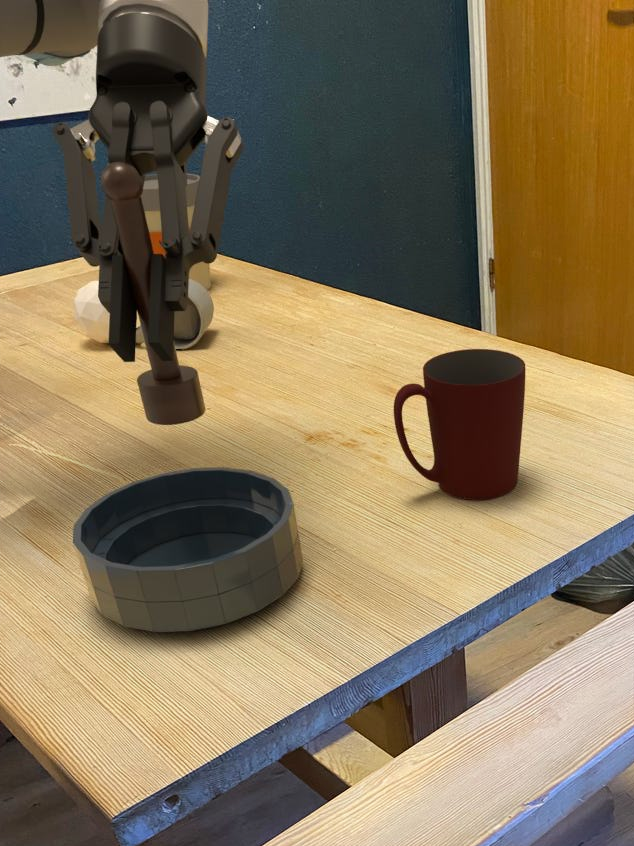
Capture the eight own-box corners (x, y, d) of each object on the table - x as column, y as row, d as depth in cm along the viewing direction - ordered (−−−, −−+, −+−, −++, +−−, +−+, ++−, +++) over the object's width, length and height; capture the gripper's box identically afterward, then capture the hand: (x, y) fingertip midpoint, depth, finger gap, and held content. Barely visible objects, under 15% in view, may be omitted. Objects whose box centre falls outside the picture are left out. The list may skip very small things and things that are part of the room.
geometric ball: (134, 361, 124) (124, 320, 116) (72, 348, 123) (58, 306, 115) (149, 317, 127) (140, 274, 119) (88, 304, 126) (75, 260, 118)
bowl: (49, 621, 70) (24, 553, 67) (169, 520, 83) (153, 458, 79) (239, 656, 66) (223, 585, 63) (336, 544, 79) (327, 479, 75)
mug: (421, 521, 81) (412, 400, 75) (385, 481, 88) (373, 366, 81) (542, 490, 85) (544, 373, 79) (498, 454, 92) (496, 342, 85)
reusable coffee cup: (228, 275, 148) (209, 171, 139) (215, 298, 138) (194, 187, 129) (148, 279, 148) (124, 174, 139) (129, 302, 138) (102, 191, 129)
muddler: (134, 422, 70) (67, 167, 60) (167, 400, 73) (108, 155, 63) (186, 427, 69) (126, 168, 59) (216, 405, 72) (165, 156, 62)
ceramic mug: (221, 328, 126) (209, 269, 122) (209, 348, 120) (196, 287, 115) (143, 333, 126) (127, 274, 122) (126, 353, 120) (110, 292, 115)
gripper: (268, 83, 72) (263, 373, 68) (74, 90, 72) (58, 379, 68) (242, 2, 64) (234, 322, 60) (25, 10, 64) (4, 329, 61)
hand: (141, 352), depth 64 cm, fingers closed on muddler, 2 cm apart
